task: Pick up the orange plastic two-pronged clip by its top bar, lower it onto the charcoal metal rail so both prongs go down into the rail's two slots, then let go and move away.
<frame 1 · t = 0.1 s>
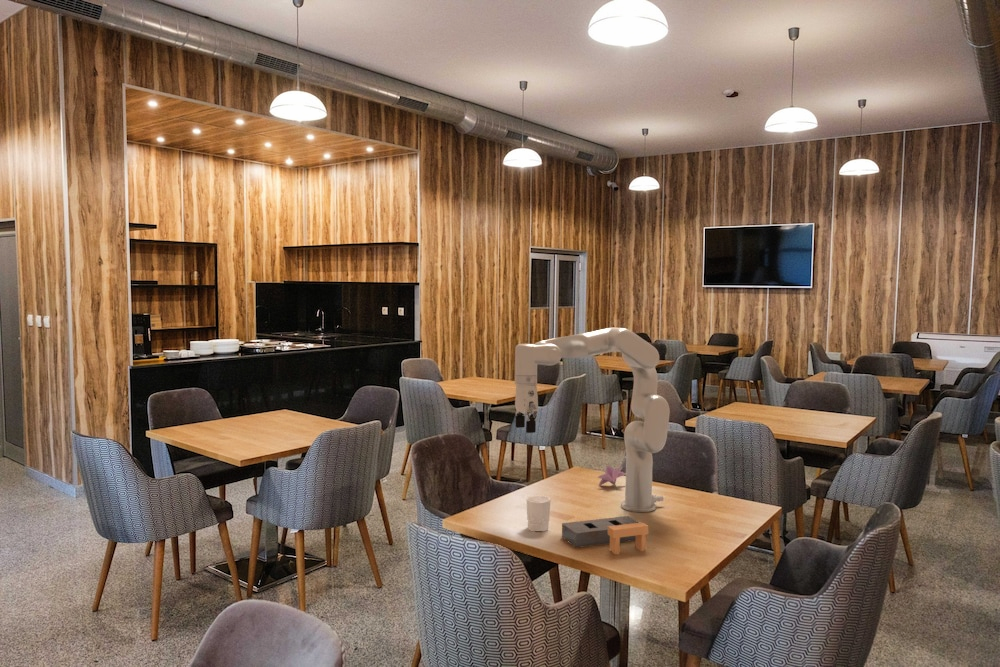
hand: (525, 429, 241), 31 cm above the table, tool pointing down, fingers open, 9 cm apart
rail: (602, 538, 225), on the table
white cup: (538, 529, 234), on the table
lily: (611, 488, 285), on the table
clip: (627, 550, 214), on the table
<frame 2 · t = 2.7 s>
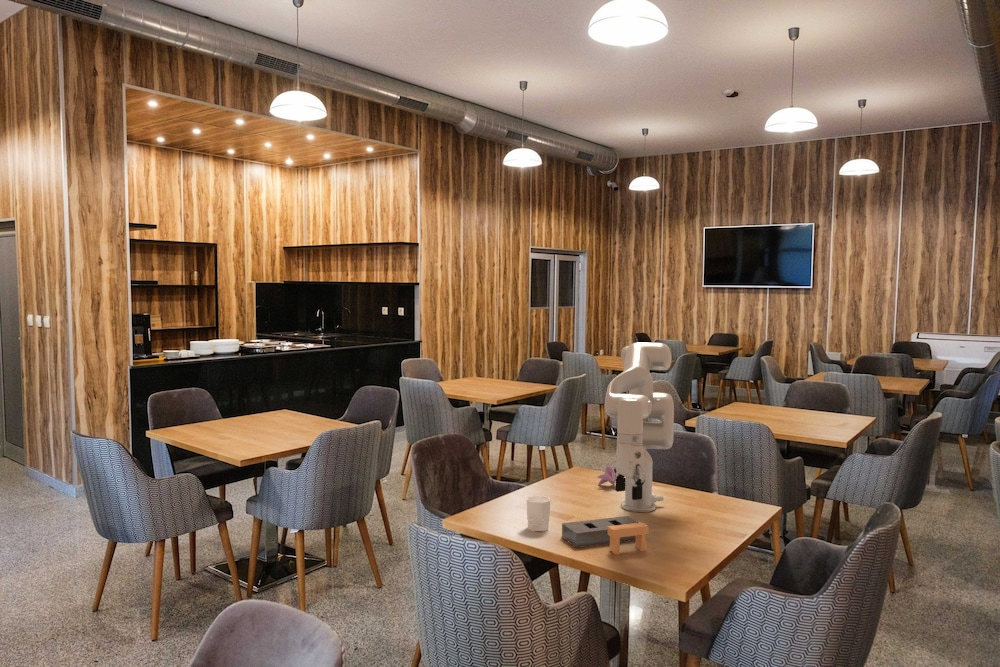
hand: (628, 495, 213), 17 cm above the table, tool pointing down, fingers open, 9 cm apart
nothing on the table moved.
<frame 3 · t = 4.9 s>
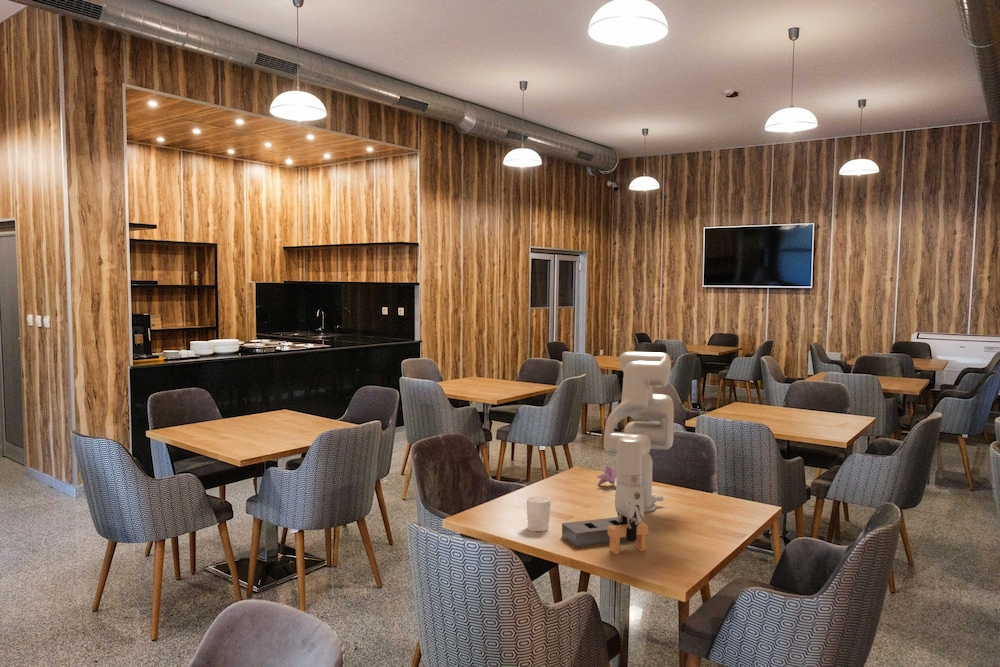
hand: (627, 537, 214), 4 cm above the table, tool pointing down, fingers closed on clip, 3 cm apart
clip: (627, 550, 214), on the table, touching gripper
everything else where it was.
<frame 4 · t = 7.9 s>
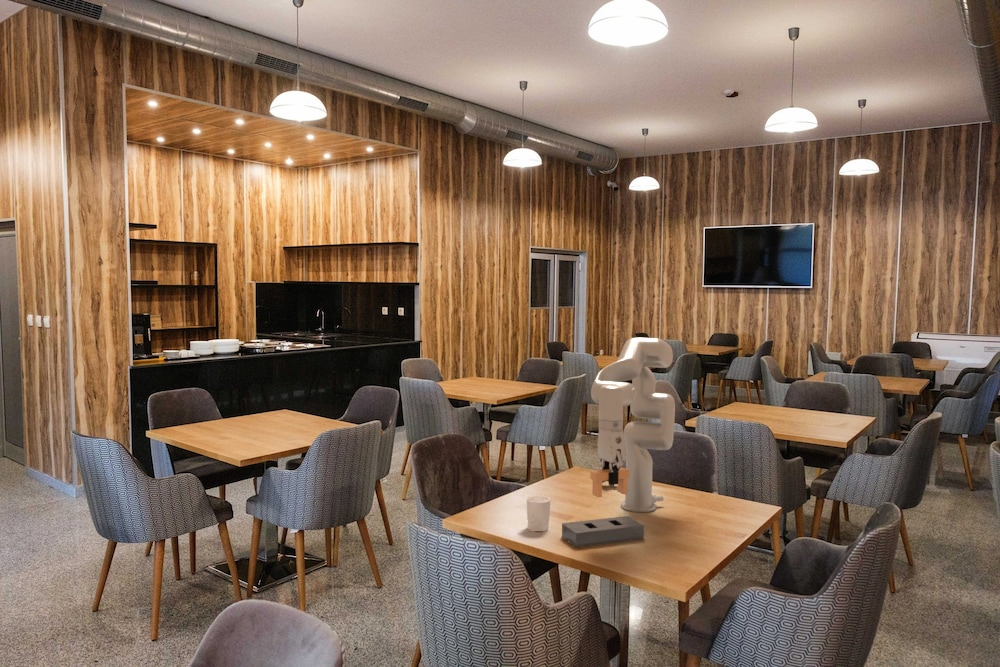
hand: (609, 481, 222), 19 cm above the table, tool pointing down, fingers closed on clip, 3 cm apart
clip: (609, 494, 222), point 15 cm above the table, touching gripper
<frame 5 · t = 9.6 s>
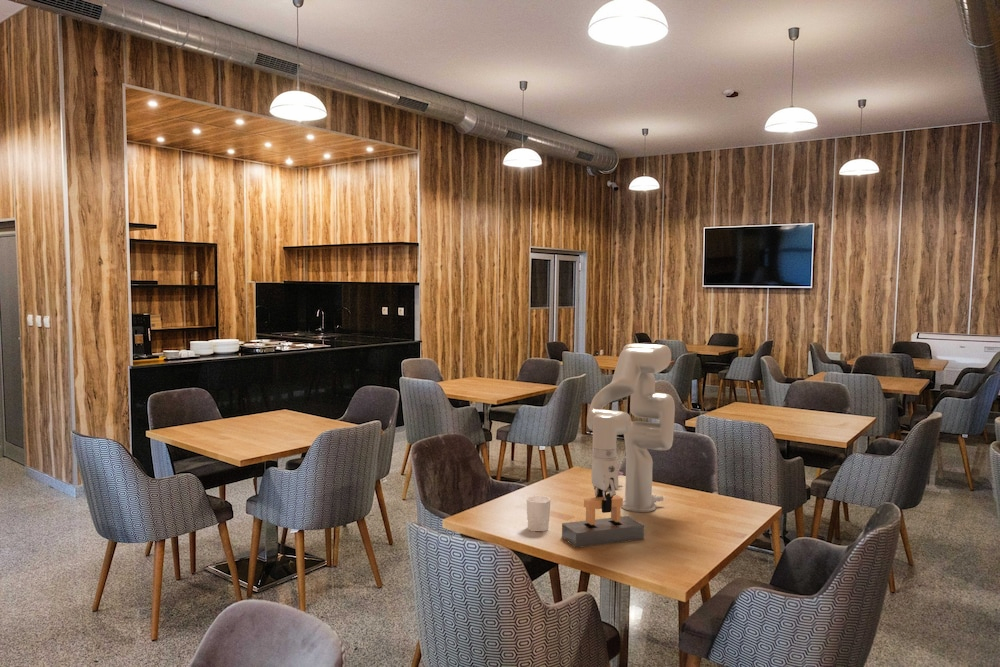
hand: (603, 509, 225), 9 cm above the table, tool pointing down, fingers closed on clip, 3 cm apart
clip: (603, 521, 225), point 5 cm above the table, touching gripper
everything else where it was.
when the fingers open (5 cm above the table, at t = 10.9 s): clip drops 2 cm, resting in rail.
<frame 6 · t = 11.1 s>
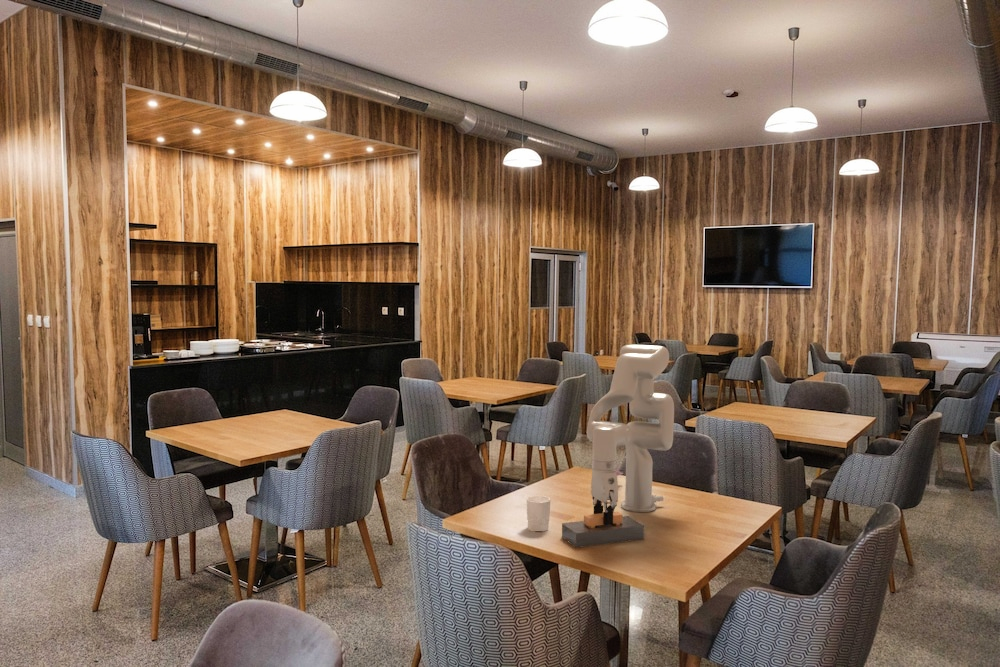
hand: (603, 520, 225), 6 cm above the table, tool pointing down, fingers open, 5 cm apart
clip: (602, 538, 225), resting in rail
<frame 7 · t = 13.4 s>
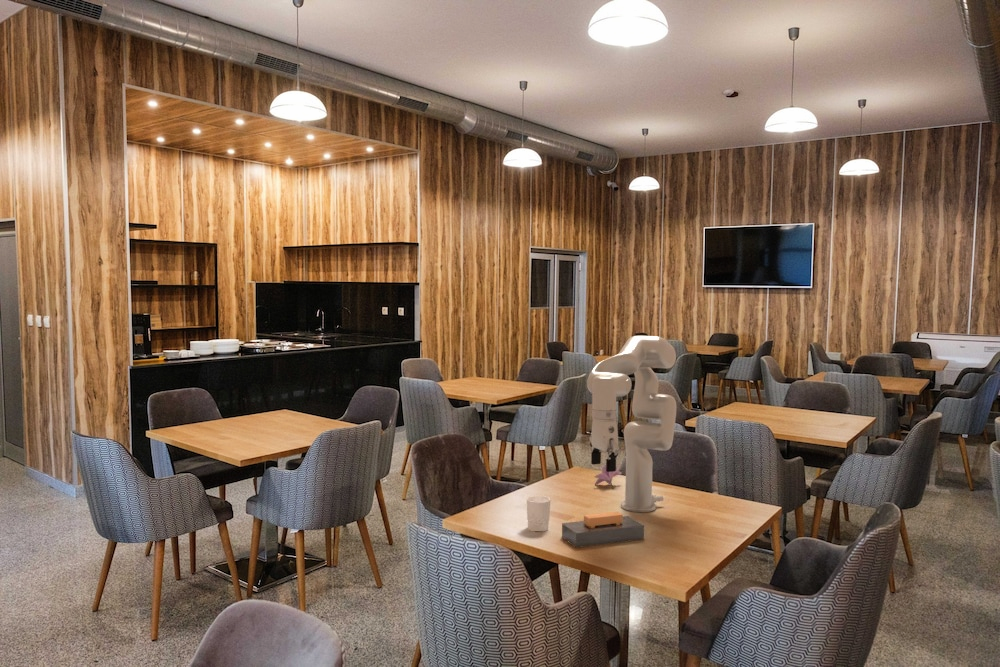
hand: (603, 467, 225), 22 cm above the table, tool pointing down, fingers open, 9 cm apart
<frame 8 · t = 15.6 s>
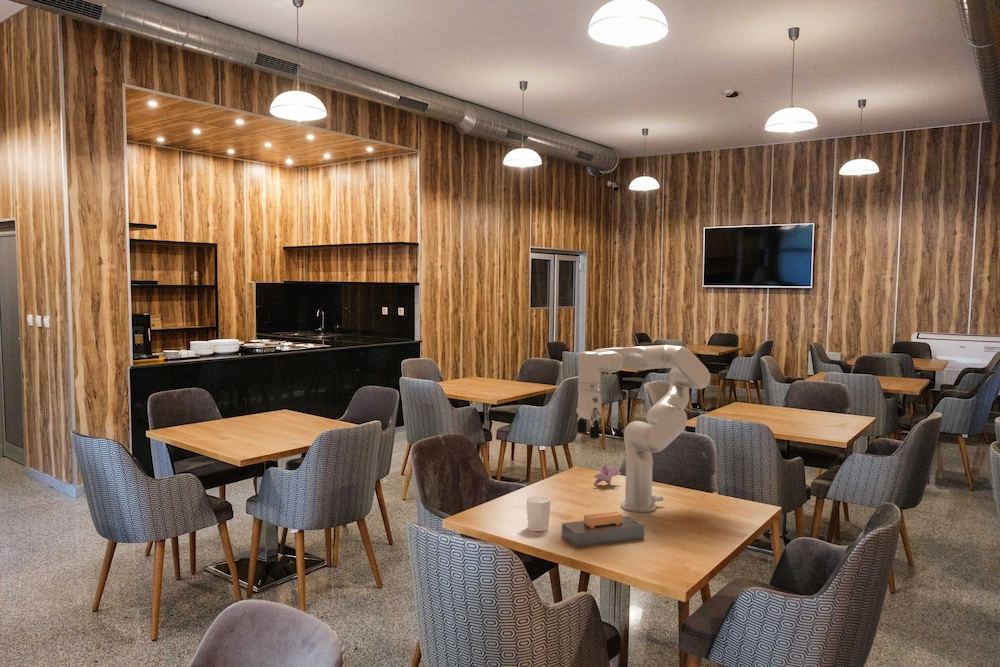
hand: (588, 435, 247), 28 cm above the table, tool pointing down, fingers open, 9 cm apart
at the end: clip 0.0 cm off-centre on the rail, point 0.0 cm above the rail's base; clip tilted 0°; the gripper is holding nothing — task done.
